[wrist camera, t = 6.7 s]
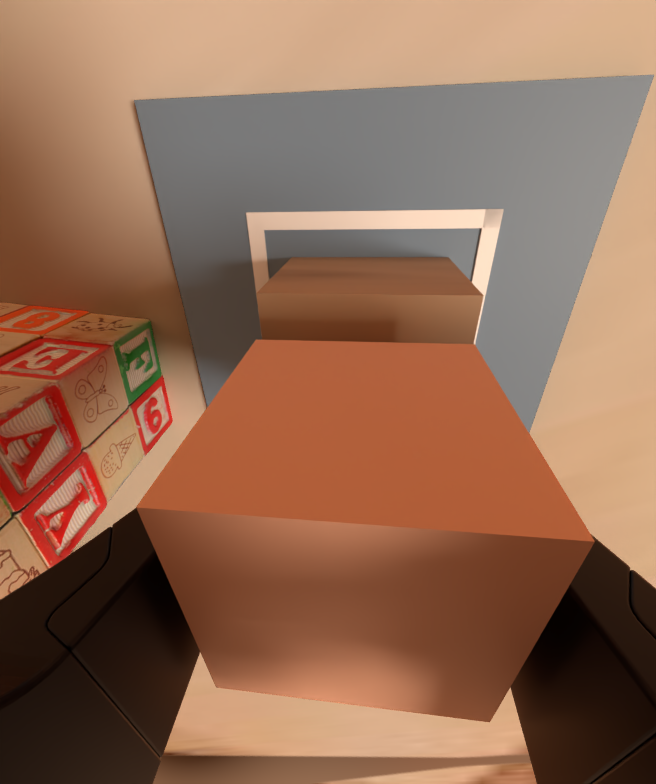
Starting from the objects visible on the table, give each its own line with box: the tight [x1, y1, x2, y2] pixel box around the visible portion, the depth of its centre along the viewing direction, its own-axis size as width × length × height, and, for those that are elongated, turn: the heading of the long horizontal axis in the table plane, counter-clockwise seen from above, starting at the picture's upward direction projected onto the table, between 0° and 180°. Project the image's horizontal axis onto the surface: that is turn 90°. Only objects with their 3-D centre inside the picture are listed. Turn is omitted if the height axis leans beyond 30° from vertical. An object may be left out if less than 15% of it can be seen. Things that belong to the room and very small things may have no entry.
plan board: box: [134, 75, 654, 432], centre depth 15 cm, size 16×16×1 cm
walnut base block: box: [256, 257, 484, 344], centre depth 13 cm, size 6×6×5 cm
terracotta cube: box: [136, 340, 595, 722], centre depth 7 cm, size 5×5×5 cm
